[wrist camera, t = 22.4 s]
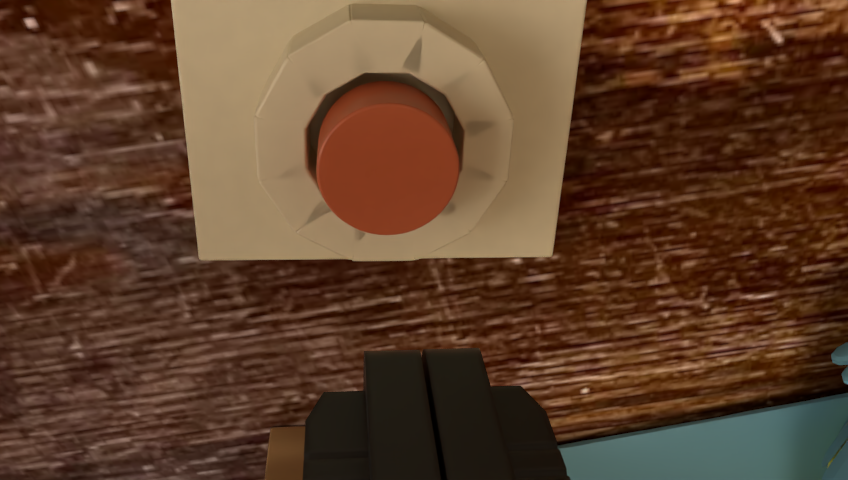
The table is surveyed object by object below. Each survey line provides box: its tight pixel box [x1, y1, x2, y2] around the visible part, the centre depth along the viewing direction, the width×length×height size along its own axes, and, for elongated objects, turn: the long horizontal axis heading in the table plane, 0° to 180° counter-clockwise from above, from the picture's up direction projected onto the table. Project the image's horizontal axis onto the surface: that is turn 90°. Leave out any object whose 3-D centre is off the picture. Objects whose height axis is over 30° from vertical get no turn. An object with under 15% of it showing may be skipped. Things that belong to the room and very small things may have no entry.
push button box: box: [171, 0, 587, 261], centre depth 20 cm, size 10×8×3 cm
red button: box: [316, 81, 459, 235], centre depth 18 cm, size 3×3×2 cm
